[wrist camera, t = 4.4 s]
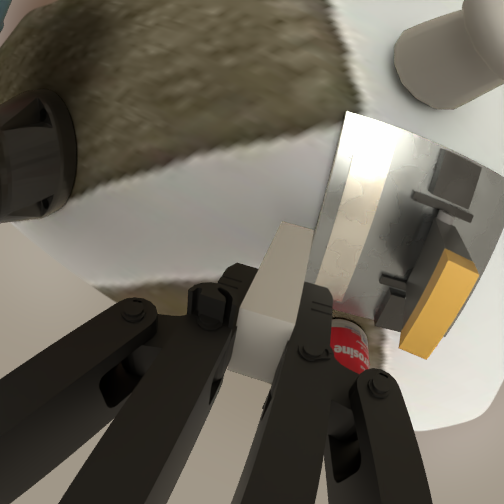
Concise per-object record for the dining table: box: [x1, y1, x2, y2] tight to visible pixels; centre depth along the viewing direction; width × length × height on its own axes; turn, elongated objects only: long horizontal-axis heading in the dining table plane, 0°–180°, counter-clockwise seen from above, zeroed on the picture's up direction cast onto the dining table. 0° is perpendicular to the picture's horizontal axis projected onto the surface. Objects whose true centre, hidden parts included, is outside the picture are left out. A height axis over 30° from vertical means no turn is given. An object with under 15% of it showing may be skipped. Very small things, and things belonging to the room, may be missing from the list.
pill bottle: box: [323, 319, 369, 457], centre depth 21 cm, size 6×6×11 cm
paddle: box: [399, 210, 479, 360], centre depth 14 cm, size 2×6×8 cm, turn 169°
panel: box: [304, 111, 504, 337], centre depth 18 cm, size 14×14×3 cm
